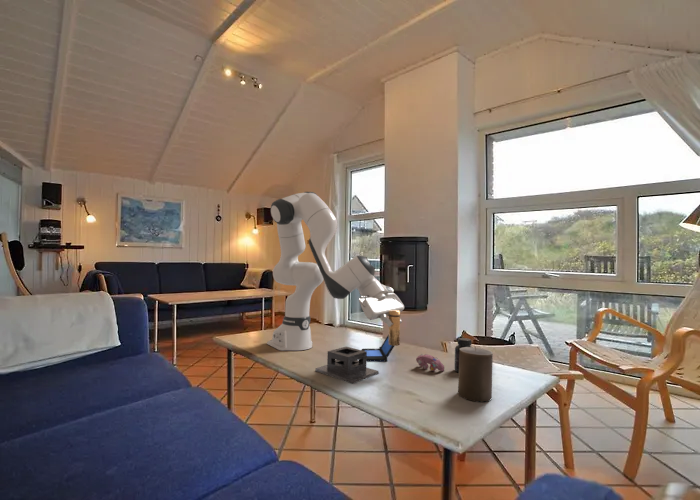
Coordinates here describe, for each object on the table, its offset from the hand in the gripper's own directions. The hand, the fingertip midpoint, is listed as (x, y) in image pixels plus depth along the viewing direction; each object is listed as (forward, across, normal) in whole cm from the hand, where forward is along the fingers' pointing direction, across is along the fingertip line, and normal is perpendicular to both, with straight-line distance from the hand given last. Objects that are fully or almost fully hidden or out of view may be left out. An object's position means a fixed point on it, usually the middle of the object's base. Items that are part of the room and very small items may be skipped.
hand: (395, 324), depth 124 cm
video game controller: (+18, +14, +8) cm, 24 cm away
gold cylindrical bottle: (+5, 0, +6) cm, 7 cm away
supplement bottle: (+25, +21, +1) cm, 32 cm away
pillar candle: (+33, +1, -8) cm, 34 cm away
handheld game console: (+1, +14, +26) cm, 30 cm away
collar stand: (+3, -11, +22) cm, 25 cm away
